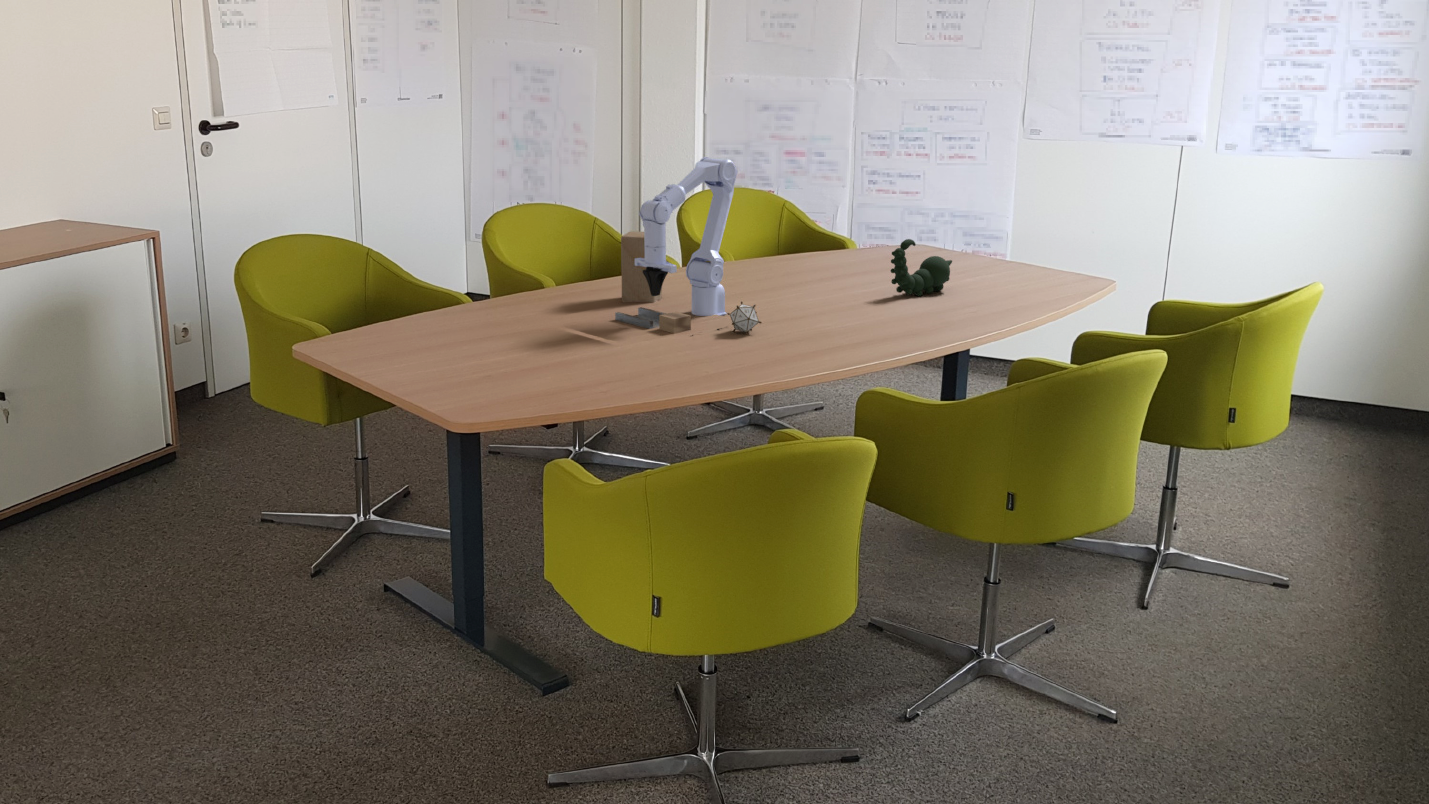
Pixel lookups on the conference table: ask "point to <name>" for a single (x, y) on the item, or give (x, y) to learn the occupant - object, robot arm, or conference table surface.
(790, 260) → the conference table surface
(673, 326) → the walnut block
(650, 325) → the chute
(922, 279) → the toy figurine
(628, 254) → the wooden block
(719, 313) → the robot arm
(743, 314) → the game die
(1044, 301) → the conference table surface
